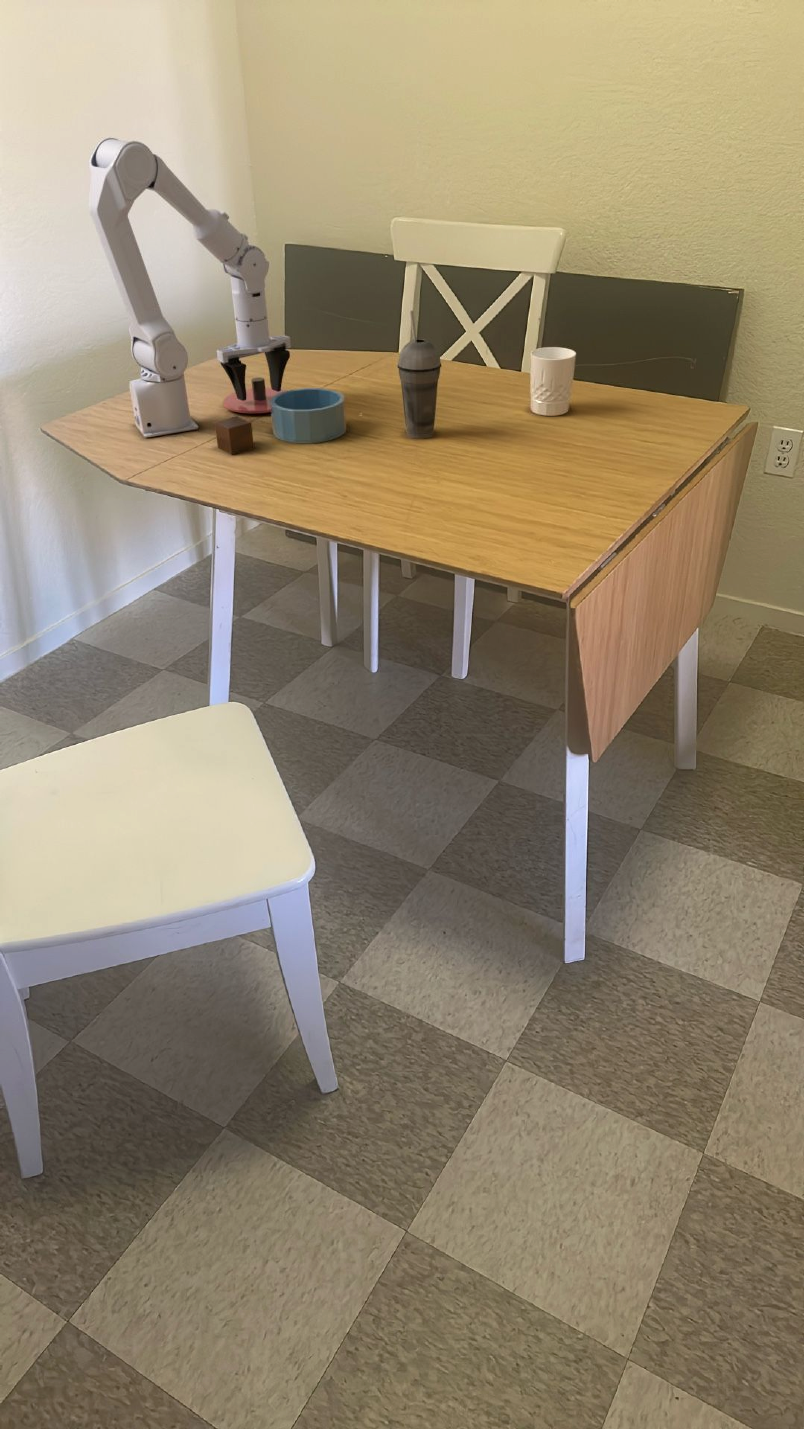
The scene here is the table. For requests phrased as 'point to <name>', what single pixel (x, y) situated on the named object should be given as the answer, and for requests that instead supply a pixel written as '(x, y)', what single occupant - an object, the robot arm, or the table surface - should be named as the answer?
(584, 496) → the table surface
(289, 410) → the bowl
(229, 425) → the block
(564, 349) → the white cup
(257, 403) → the lid
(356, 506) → the table surface
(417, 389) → the beverage cup
